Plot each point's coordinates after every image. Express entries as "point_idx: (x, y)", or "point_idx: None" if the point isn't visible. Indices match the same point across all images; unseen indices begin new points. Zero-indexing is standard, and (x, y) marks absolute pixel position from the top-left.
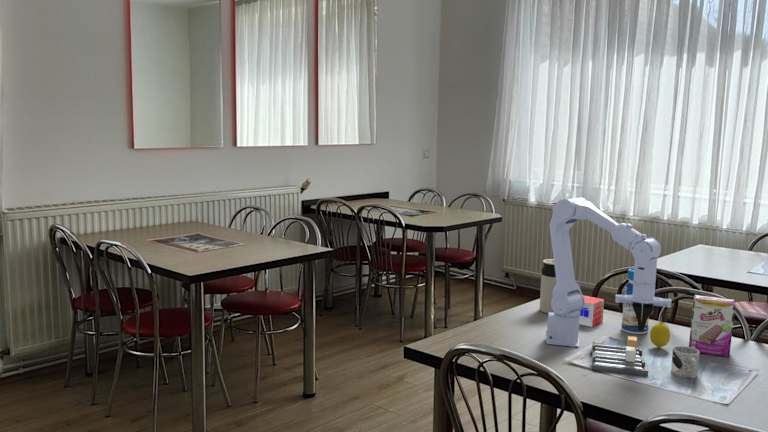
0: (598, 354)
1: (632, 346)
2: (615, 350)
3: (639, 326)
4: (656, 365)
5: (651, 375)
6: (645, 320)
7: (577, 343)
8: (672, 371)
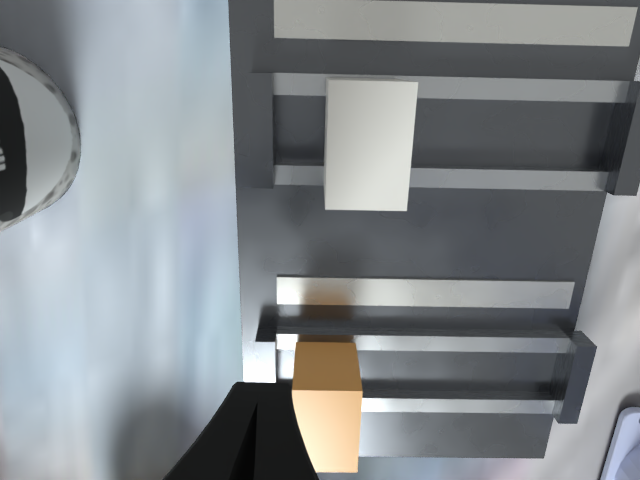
0: (559, 245)
1: (325, 358)
2: (433, 335)
3: (280, 408)
4: (174, 241)
5: (209, 15)
6: (188, 469)
7: (624, 449)
8: (60, 106)
